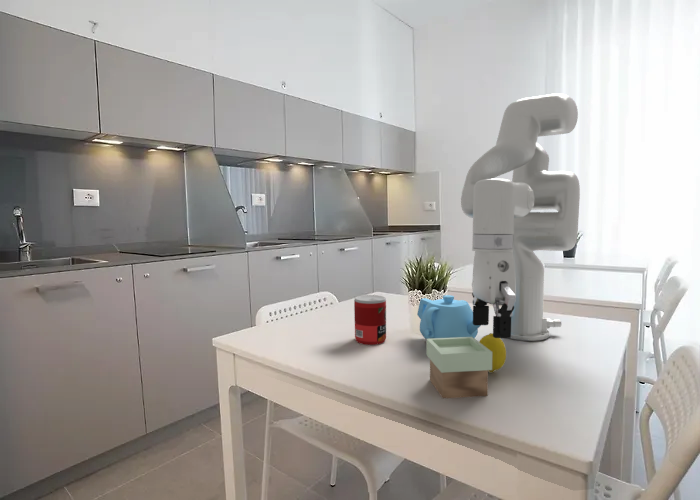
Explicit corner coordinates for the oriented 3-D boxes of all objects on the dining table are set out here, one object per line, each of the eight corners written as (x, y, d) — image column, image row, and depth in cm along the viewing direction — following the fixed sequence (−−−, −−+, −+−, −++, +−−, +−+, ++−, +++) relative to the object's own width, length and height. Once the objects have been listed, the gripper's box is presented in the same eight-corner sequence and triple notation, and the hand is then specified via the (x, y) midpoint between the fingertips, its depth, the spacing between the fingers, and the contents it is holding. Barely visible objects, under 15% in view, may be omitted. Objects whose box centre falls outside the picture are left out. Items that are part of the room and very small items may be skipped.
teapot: (397, 341, 104) (396, 294, 103) (439, 329, 114) (439, 286, 113) (464, 362, 88) (465, 308, 87) (506, 346, 99) (507, 297, 98)
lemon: (502, 380, 79) (503, 339, 78) (473, 374, 82) (473, 334, 81) (508, 370, 83) (509, 331, 83) (480, 365, 86) (481, 328, 86)
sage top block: (471, 352, 80) (471, 336, 80) (492, 370, 71) (492, 351, 71) (426, 354, 79) (426, 338, 79) (441, 372, 70) (441, 354, 70)
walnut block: (470, 379, 80) (470, 353, 80) (487, 397, 72) (488, 369, 72) (429, 381, 79) (429, 355, 79) (442, 399, 71) (442, 371, 71)
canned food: (384, 346, 100) (384, 301, 99) (352, 344, 102) (351, 300, 101) (387, 336, 108) (387, 295, 107) (357, 335, 109) (357, 294, 108)
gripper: (534, 245, 72) (531, 342, 73) (492, 242, 89) (490, 320, 90) (493, 245, 71) (490, 343, 72) (458, 242, 88) (456, 321, 89)
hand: (490, 330), depth 81 cm, fingers open, 9 cm apart
